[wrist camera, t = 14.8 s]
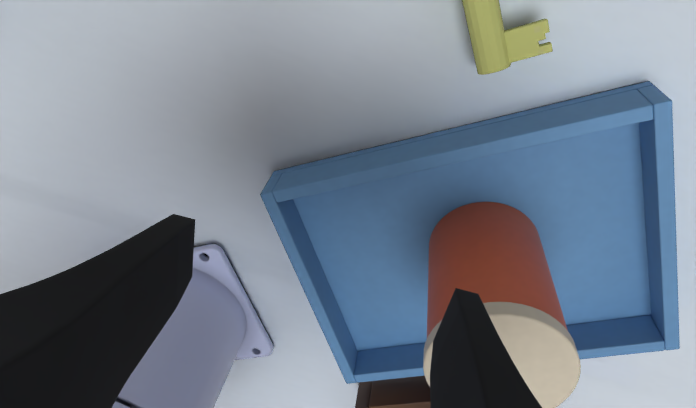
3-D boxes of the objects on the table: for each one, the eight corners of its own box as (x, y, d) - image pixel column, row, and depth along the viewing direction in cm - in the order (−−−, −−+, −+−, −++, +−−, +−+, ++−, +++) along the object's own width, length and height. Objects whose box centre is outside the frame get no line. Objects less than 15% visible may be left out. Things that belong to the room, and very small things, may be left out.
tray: (352, 352, 30) (346, 384, 28) (273, 170, 24) (259, 194, 22) (661, 314, 25) (680, 349, 23) (649, 80, 20) (672, 100, 18)
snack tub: (444, 299, 26) (446, 429, 20) (412, 215, 24) (403, 330, 18) (552, 279, 25) (593, 412, 18) (529, 186, 22) (565, 301, 16)
